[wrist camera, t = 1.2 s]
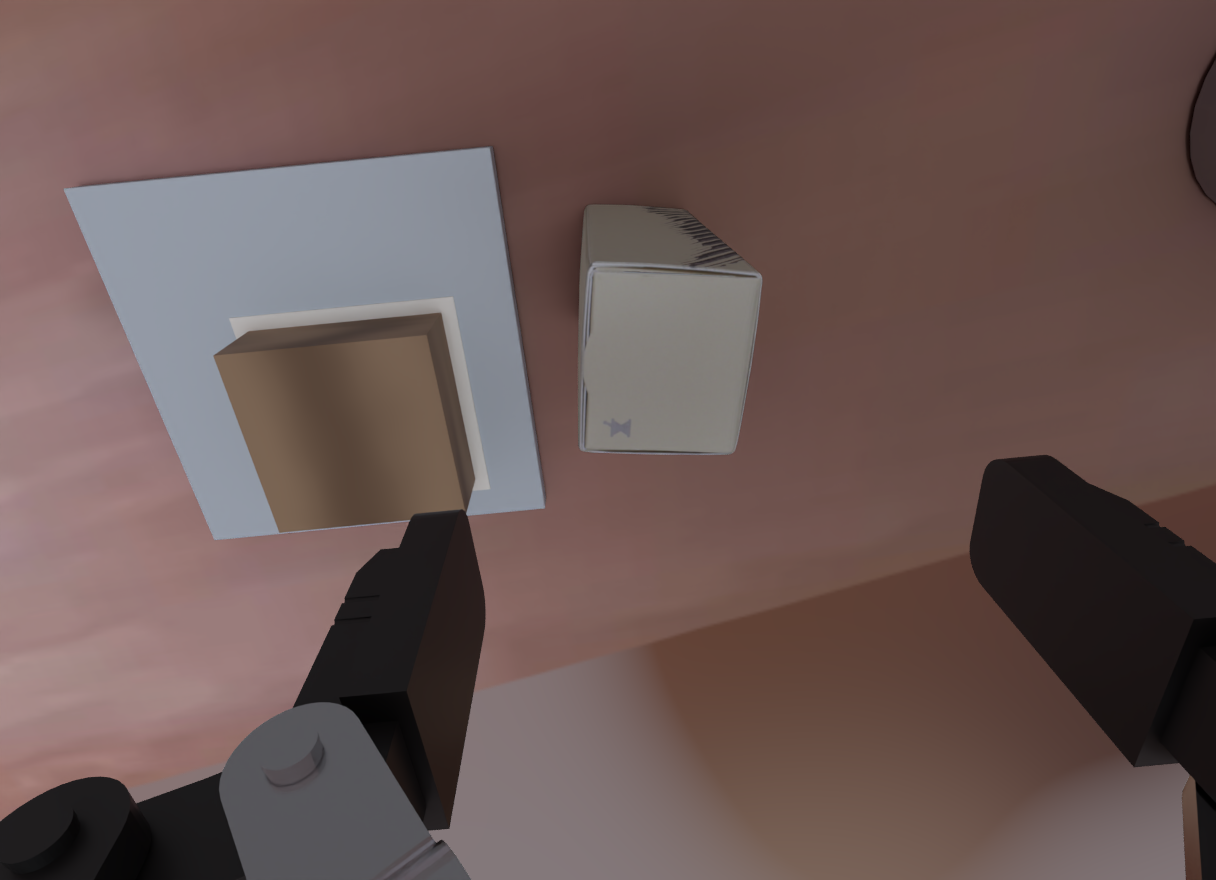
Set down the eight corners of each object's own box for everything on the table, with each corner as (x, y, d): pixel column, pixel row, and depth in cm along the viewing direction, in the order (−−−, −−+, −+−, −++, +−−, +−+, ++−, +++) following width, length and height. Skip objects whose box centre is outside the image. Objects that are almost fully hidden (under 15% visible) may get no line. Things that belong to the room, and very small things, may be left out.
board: (492, 145, 26) (489, 147, 25) (545, 497, 33) (544, 509, 32) (81, 185, 26) (61, 189, 25) (224, 528, 33) (213, 541, 32)
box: (675, 326, 29) (739, 469, 18) (575, 322, 29) (575, 464, 18) (689, 200, 27) (772, 271, 16) (580, 193, 27) (584, 262, 15)
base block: (441, 312, 28) (426, 334, 25) (475, 479, 31) (465, 514, 28) (248, 331, 28) (213, 355, 25) (304, 495, 31) (279, 532, 28)
